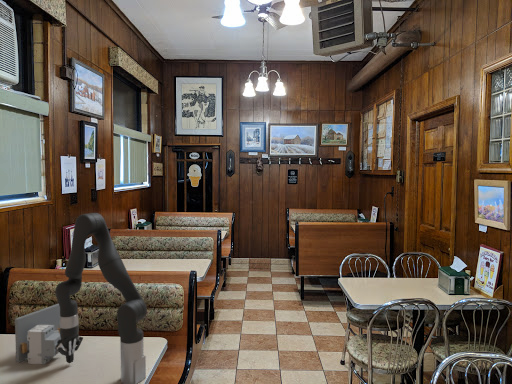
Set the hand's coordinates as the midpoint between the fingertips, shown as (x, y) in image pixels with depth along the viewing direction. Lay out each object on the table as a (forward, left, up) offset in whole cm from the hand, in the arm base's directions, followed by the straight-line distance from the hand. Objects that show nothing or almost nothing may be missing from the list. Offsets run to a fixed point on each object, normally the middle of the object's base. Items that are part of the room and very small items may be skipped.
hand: (70, 362), depth 166 cm
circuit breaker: (+14, +1, -2) cm, 14 cm away
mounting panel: (+25, -3, -2) cm, 25 cm away
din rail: (+23, -3, +3) cm, 23 cm away
